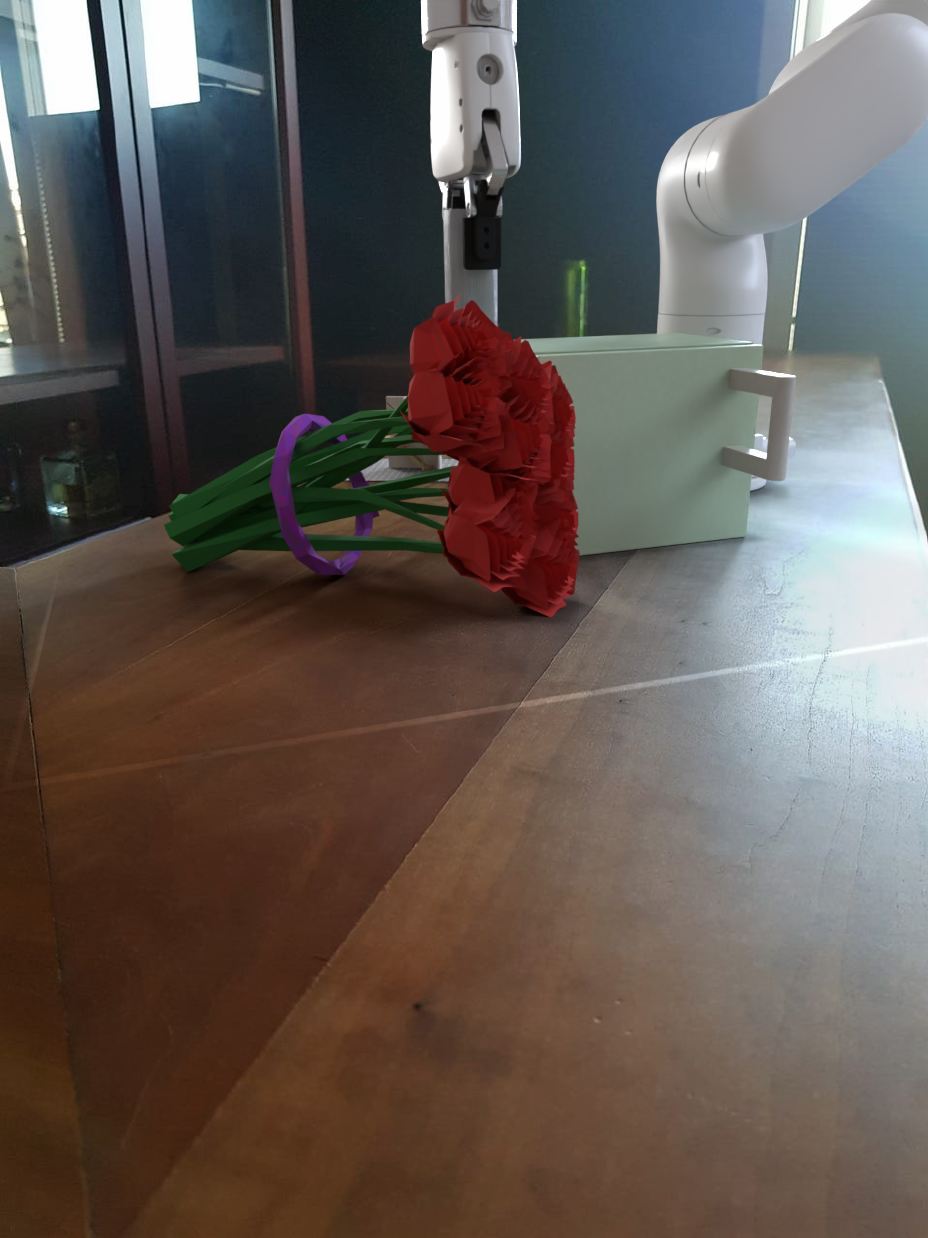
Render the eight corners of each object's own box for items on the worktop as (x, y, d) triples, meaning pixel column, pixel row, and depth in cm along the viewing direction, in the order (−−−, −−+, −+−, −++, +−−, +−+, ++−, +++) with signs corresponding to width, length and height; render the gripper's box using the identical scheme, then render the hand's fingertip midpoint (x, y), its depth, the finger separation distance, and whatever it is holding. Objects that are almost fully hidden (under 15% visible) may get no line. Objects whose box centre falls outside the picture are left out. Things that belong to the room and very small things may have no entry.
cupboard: (736, 534, 74) (754, 341, 69) (529, 558, 69) (530, 352, 64) (666, 503, 84) (677, 332, 79) (479, 522, 79) (478, 340, 74)
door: (796, 558, 68) (819, 351, 63) (571, 586, 63) (577, 364, 58) (738, 533, 74) (755, 344, 69) (530, 557, 69) (532, 354, 64)
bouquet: (261, 608, 78) (614, 564, 67) (132, 687, 64) (554, 650, 52) (191, 368, 73) (562, 274, 61) (32, 395, 59) (477, 280, 47)
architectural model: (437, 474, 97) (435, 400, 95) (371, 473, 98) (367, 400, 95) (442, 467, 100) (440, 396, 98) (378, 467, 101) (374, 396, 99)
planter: (460, 338, 80) (458, 206, 77) (437, 335, 84) (434, 209, 81) (506, 336, 82) (507, 207, 79) (482, 333, 86) (481, 210, 83)
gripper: (555, 0, 69) (550, 269, 75) (478, 48, 84) (480, 268, 90) (456, -7, 66) (461, 270, 73) (396, 44, 81) (404, 270, 88)
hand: (471, 267), depth 81 cm, fingers closed on planter, 4 cm apart
